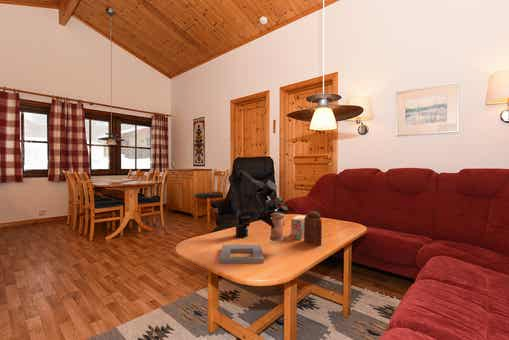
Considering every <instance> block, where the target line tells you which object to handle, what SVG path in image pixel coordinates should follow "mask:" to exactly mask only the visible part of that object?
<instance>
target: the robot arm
mask: <svg viewBox="0 0 509 340" xmlns="http://www.w3.org/2000/svg"><path fill="white" fill-rule="evenodd" d="M243 182H244V183H245V184H247V185H248V187H249V190H250V191H251V192H252V193H253V194H256V195H255V196H256V197H255V200H256V201H259V202H260V203H259V204H260V205H261V206H260V208H259V209H257V210H256V212H255V213H254V219H255V220H256V221H258V220H260V221H262V222H264V223H265V224H267V225H268V226H270V228H271V227H272V228H274V227H275V226H274V224H273V222H272V220H271V213H283V214H284V215H285V214H286V213H287V212H288V211H289V208H288V207H287V206H285V205H282V204H283V203H284V202H283V201H284V200H283V198H282V197H281V196H279V197H277V198H270V197H272V196H273V194H274V192H275V191H276V190H277V188H278V186H277V184H276V183H274V182H273V181H271V180H270V179H267V180H266V181H265V183H264V182H263V181H261V180H257V179H255V178H254V177H252V176H251V174H249V173H248V171H246V170H237V171H236V172H234V173H232V174H229V175H228V183H229V185H230V186H231V188H232V189H233V194H234V198H235V204H236V205H235V206H236V215H235V220H234V221H233V223H232V224H233V227H234V228H235V235H234V238H235V237H236V238H240V239H241V238H242V239H245V238H247V237H248V236H249V233H248V232H249V229H248V227H250V224H251V220H252V219H251V218H252V217H251V214H250V211H249V210H248V211H247V209H246V205H245V200H244V194H243V191H242V190H243V189H242V185H243ZM280 205H282V206H280ZM278 206H279V208H278ZM277 208H278V209H277ZM284 226H285V220H284V218H283V227H284Z"/></svg>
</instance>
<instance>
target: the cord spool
mask: <svg viewBox="0 0 509 340" xmlns="http://www.w3.org/2000/svg"><path fill="white" fill-rule="evenodd" d="M270 218H271V220H272V222H273V224H274V226H275V227H274V228H272V227H271V226H270V235H269V240H270V241H272V242H275V243H276V242H278V243H279V242H283V241H284V226H283V219H284V218H285V214H283V213H271V215H270Z"/></svg>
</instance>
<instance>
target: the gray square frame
mask: <svg viewBox="0 0 509 340" xmlns="http://www.w3.org/2000/svg"><path fill="white" fill-rule="evenodd" d="M262 248H263V247H262V245H261V244H222V246H221V251H220V255H219V260H218V261H219V264H264V263H265V257H264V253H263V250H262ZM233 253H236V254H237V253H252V256H231V254H233Z"/></svg>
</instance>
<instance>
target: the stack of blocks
mask: <svg viewBox="0 0 509 340" xmlns="http://www.w3.org/2000/svg"><path fill="white" fill-rule="evenodd" d="M305 216H306V215H300V214H298V215H296V216H294V217H292V218H291V220H290V221H291V224H290V225H291V226H290V239H291V240H298V241H302V240H304V228H305V227H304V220H305Z"/></svg>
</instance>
